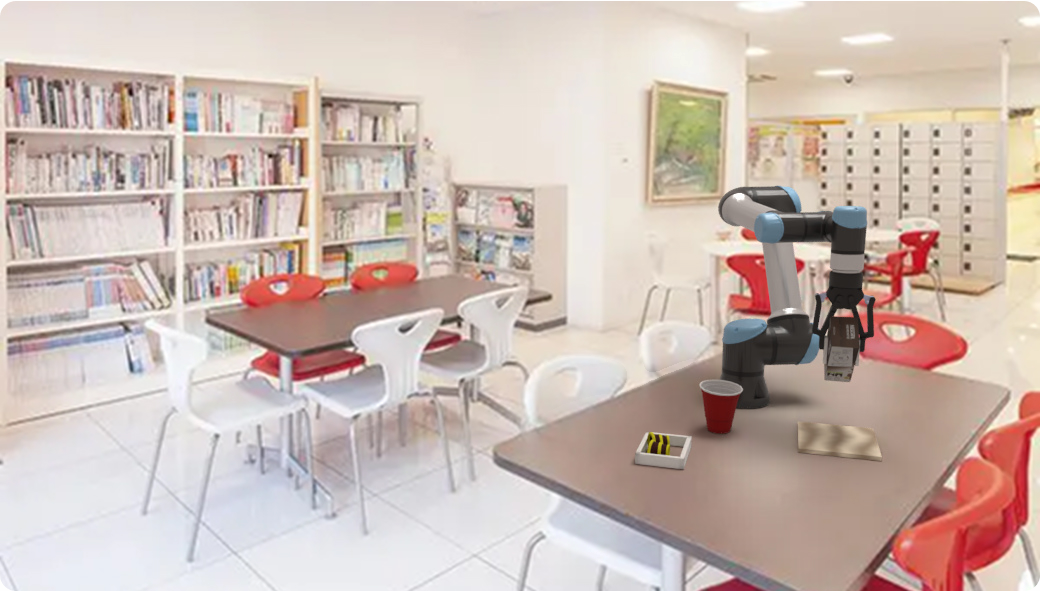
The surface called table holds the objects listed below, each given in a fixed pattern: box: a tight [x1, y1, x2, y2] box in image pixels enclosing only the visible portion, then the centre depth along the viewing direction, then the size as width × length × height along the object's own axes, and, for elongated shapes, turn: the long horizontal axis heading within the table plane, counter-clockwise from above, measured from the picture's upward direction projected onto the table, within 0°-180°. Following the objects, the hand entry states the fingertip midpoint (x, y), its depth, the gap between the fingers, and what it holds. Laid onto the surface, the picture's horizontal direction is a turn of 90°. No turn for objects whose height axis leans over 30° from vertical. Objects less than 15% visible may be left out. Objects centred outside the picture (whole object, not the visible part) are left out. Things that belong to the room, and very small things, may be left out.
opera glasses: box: [646, 431, 671, 456], centre depth 180 cm, size 10×5×5 cm, turn 171°
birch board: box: [797, 421, 883, 462], centre depth 189 cm, size 18×20×1 cm
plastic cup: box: [699, 379, 743, 435], centre depth 197 cm, size 11×11×12 cm
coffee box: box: [823, 315, 860, 383], centre depth 190 cm, size 9×6×16 cm
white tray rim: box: [634, 431, 693, 470], centre depth 182 cm, size 11×15×2 cm
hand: (840, 363), depth 189 cm, fingers closed on coffee box, 7 cm apart
